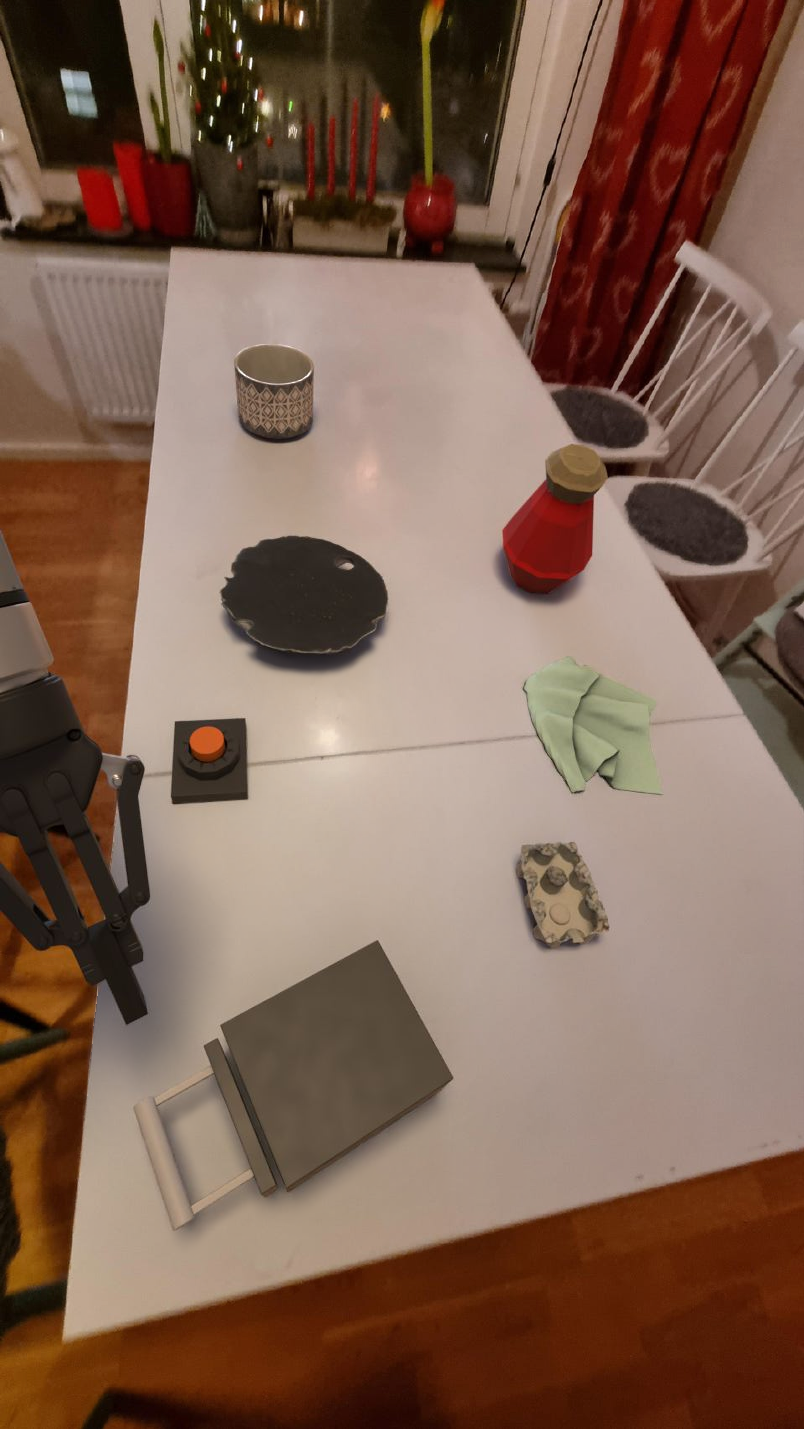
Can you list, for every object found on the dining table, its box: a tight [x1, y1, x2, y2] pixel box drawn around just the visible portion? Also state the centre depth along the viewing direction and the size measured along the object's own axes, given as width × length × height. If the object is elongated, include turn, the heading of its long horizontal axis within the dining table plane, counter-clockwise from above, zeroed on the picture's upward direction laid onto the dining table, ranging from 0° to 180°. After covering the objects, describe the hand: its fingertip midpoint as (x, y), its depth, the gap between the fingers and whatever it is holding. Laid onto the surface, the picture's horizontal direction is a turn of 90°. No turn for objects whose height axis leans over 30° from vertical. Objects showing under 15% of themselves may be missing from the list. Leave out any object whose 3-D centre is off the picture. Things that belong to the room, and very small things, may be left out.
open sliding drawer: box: [132, 1038, 279, 1232], centre depth 57 cm, size 20×11×7 cm, turn 120°
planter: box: [233, 343, 315, 440], centre depth 116 cm, size 13×13×10 cm
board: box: [219, 535, 389, 654], centre depth 93 cm, size 22×22×5 cm
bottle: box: [501, 443, 609, 596], centre depth 98 cm, size 16×14×20 cm
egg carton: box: [515, 841, 610, 949], centre depth 73 cm, size 11×8×4 cm
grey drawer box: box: [220, 939, 454, 1193], centre depth 59 cm, size 15×13×9 cm
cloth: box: [522, 655, 663, 796], centre depth 88 cm, size 20×22×2 cm
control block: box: [170, 717, 249, 805], centre depth 78 cm, size 10×8×4 cm
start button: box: [190, 727, 225, 762], centre depth 76 cm, size 4×4×2 cm
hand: (135, 1009), depth 48 cm, fingers closed
